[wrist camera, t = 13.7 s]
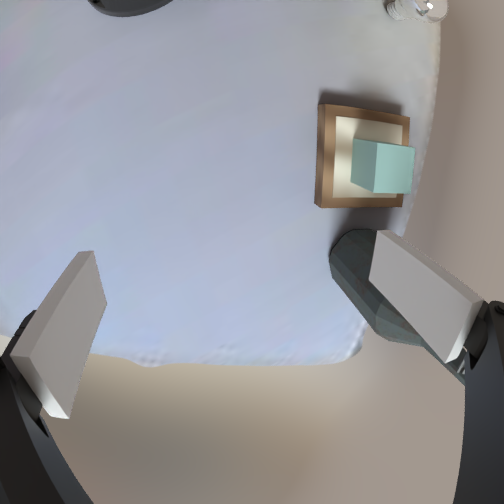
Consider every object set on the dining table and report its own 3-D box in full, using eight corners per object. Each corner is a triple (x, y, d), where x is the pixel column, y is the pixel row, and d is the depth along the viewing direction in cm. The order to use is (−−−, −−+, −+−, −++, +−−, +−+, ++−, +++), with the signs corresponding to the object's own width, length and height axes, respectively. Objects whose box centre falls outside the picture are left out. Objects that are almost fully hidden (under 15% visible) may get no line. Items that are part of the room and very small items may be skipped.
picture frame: (317, 104, 35) (325, 103, 33) (399, 116, 37) (410, 117, 35) (314, 203, 41) (321, 208, 39) (392, 202, 43) (402, 207, 41)
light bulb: (414, 23, 30) (464, 11, 20) (392, 38, 32) (445, 25, 21) (388, -10, 27) (435, -30, 17) (364, 3, 29) (412, -20, 18)
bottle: (385, 226, 45) (525, 335, 18) (375, 279, 49) (485, 400, 22) (330, 228, 43) (472, 368, 16) (323, 285, 47) (424, 435, 20)
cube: (352, 138, 35) (377, 142, 30) (388, 142, 36) (415, 147, 31) (350, 182, 38) (373, 192, 32) (385, 183, 39) (410, 193, 33)
